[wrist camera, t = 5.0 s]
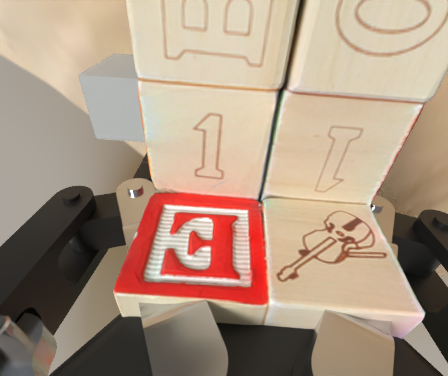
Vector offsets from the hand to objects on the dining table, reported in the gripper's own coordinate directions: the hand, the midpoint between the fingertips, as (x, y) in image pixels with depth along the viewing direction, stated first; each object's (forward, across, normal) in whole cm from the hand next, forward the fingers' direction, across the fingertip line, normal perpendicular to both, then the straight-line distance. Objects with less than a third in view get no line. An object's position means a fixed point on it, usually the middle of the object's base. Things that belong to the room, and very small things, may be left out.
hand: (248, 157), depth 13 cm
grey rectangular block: (+20, +11, +3) cm, 23 cm away
